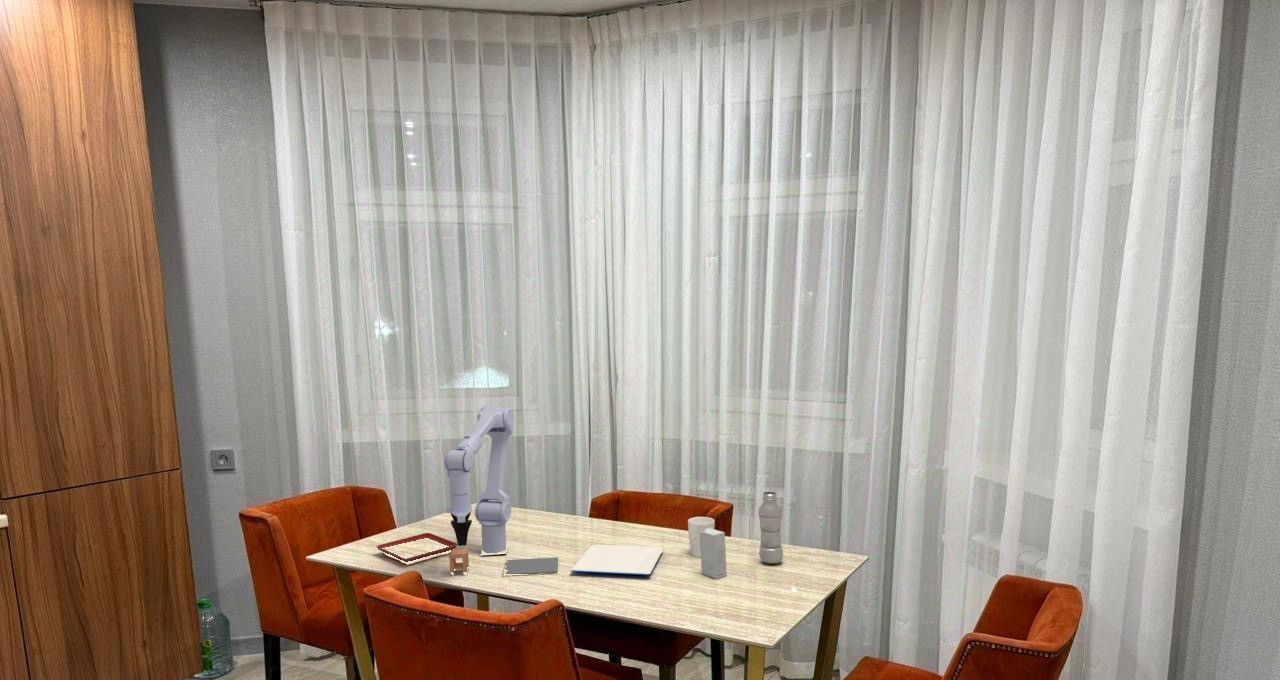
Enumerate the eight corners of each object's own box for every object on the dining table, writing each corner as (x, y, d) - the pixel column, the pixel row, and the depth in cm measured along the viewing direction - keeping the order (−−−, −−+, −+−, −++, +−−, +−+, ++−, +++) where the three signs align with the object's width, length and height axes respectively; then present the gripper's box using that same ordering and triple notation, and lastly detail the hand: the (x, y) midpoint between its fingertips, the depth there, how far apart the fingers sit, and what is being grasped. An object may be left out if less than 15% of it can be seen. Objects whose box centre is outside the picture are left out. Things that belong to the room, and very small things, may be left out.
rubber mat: (506, 562, 219) (506, 560, 219) (558, 559, 220) (558, 557, 220) (502, 576, 207) (502, 574, 207) (557, 573, 208) (557, 571, 208)
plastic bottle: (783, 567, 209) (781, 496, 208) (758, 566, 211) (757, 495, 210) (783, 559, 216) (782, 490, 215) (759, 558, 217) (758, 490, 216)
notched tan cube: (452, 570, 213) (451, 549, 213) (468, 569, 213) (468, 548, 213) (450, 576, 208) (449, 554, 208) (466, 575, 209) (466, 554, 208)
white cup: (693, 559, 217) (693, 525, 217) (685, 551, 225) (684, 518, 225) (719, 556, 220) (718, 522, 219) (709, 548, 227) (708, 515, 227)
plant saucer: (459, 554, 229) (459, 543, 228) (405, 569, 216) (405, 558, 215) (428, 542, 241) (428, 532, 241) (375, 556, 228) (375, 545, 228)
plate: (649, 580, 202) (649, 573, 202) (570, 576, 206) (570, 569, 206) (664, 553, 224) (663, 546, 224) (591, 550, 228) (591, 543, 228)
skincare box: (727, 576, 203) (726, 531, 203) (715, 580, 201) (714, 535, 200) (711, 570, 208) (710, 527, 208) (699, 574, 205) (698, 530, 205)
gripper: (445, 488, 214) (447, 535, 215) (445, 500, 200) (447, 550, 201) (470, 486, 216) (472, 532, 217) (472, 498, 202) (474, 548, 203)
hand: (462, 541), depth 209 cm, fingers open, 7 cm apart
